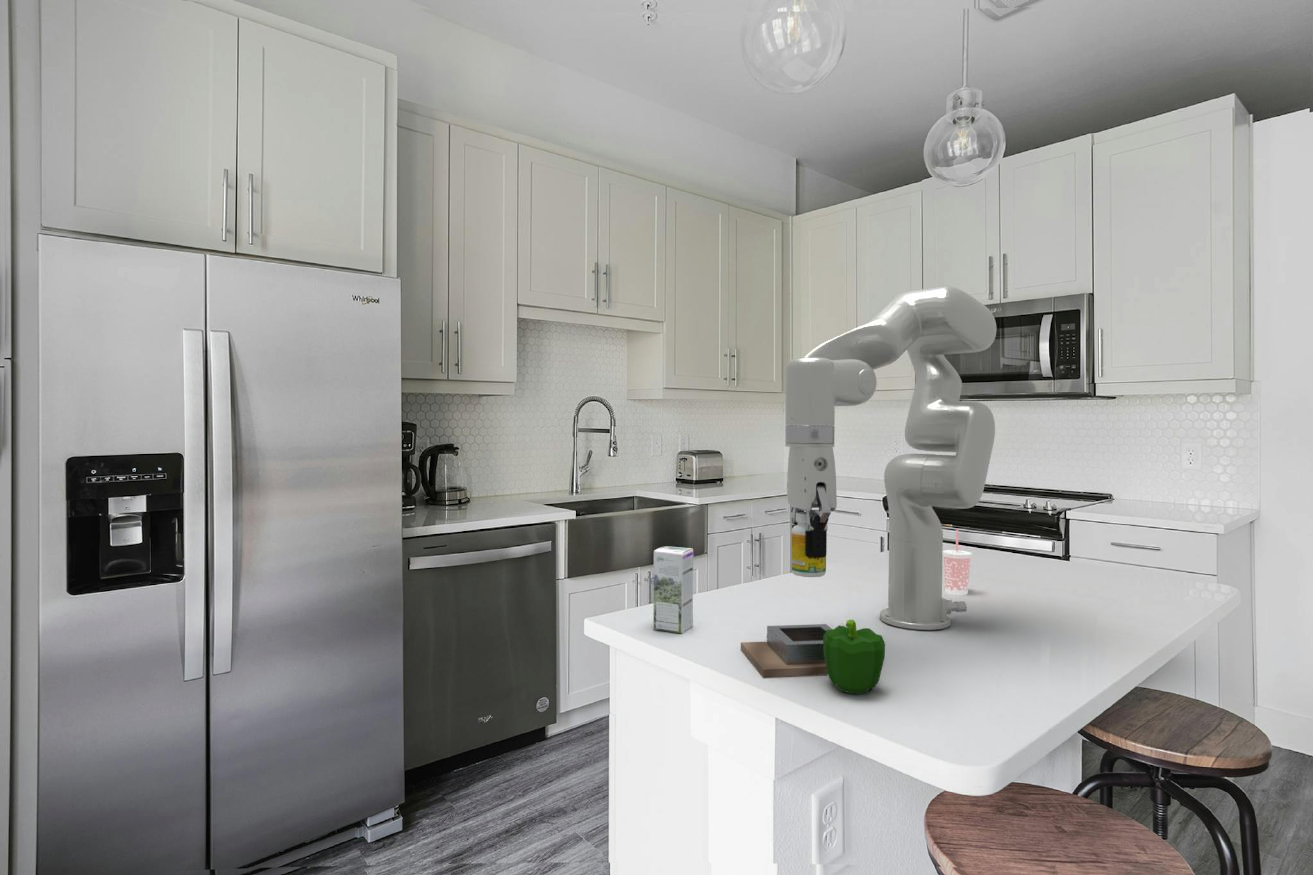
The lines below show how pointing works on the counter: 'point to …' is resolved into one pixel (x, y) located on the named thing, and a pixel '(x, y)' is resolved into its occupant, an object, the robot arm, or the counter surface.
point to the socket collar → (798, 643)
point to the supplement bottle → (799, 560)
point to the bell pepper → (853, 657)
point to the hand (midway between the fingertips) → (808, 551)
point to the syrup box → (673, 589)
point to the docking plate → (777, 662)
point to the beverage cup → (956, 570)
